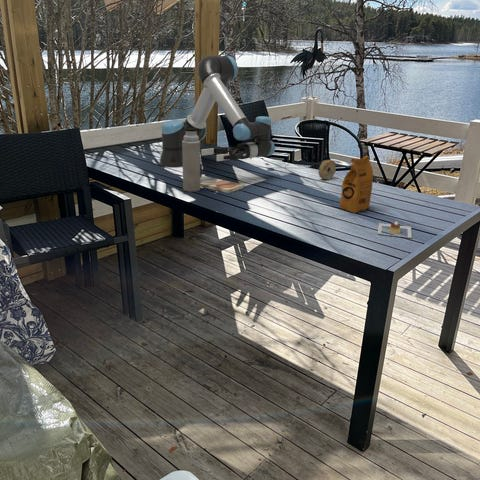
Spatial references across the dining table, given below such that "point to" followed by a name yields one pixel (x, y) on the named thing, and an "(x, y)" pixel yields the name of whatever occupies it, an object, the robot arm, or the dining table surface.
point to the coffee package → (357, 186)
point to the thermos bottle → (191, 160)
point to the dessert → (394, 229)
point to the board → (219, 184)
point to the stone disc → (327, 169)
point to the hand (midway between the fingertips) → (209, 155)
